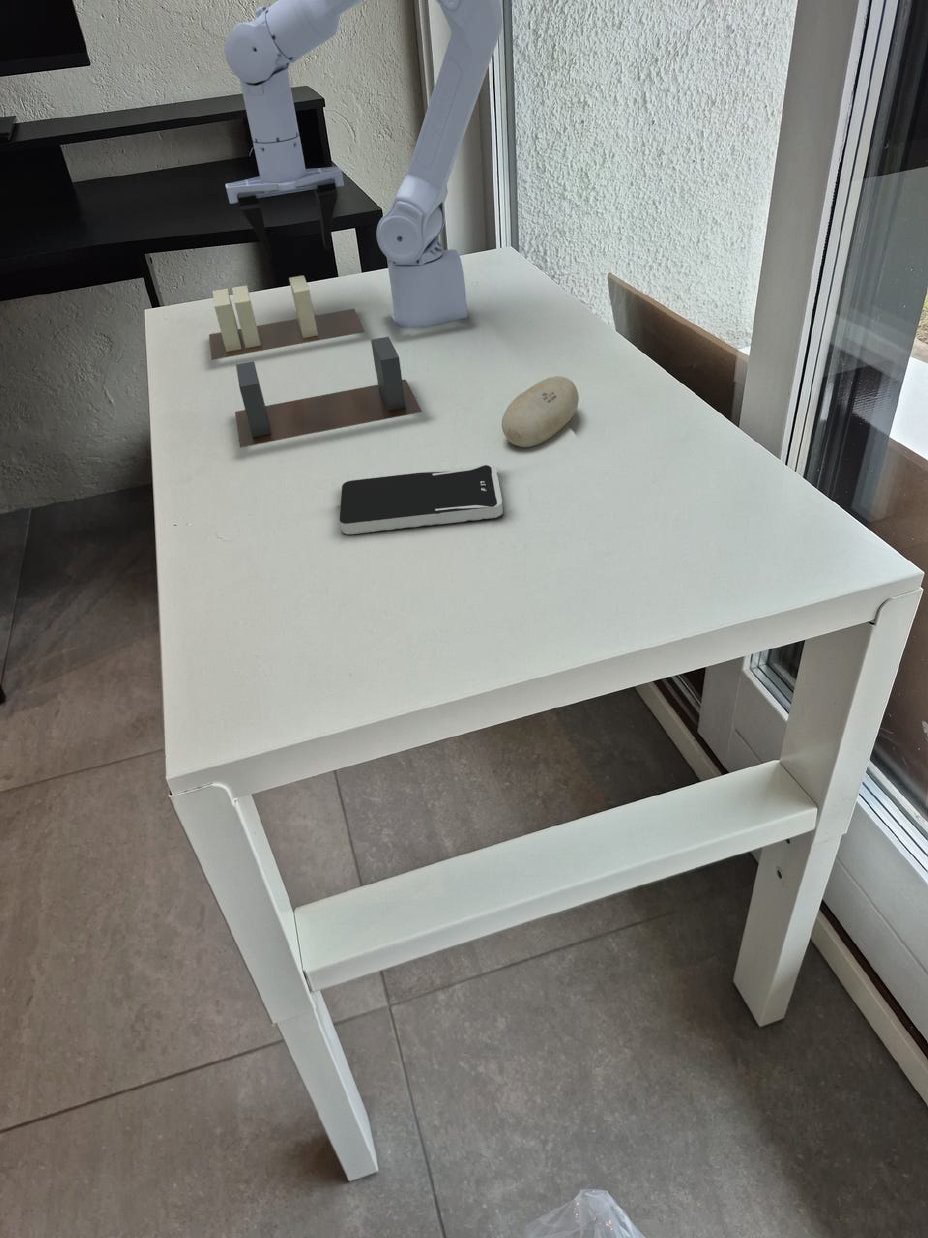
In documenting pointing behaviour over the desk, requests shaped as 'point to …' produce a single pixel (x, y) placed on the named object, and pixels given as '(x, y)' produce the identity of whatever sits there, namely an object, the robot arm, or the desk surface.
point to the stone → (540, 412)
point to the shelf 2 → (324, 414)
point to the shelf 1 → (291, 333)
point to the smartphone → (420, 499)
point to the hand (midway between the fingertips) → (298, 251)
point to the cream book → (303, 306)
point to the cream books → (229, 321)
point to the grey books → (385, 372)
